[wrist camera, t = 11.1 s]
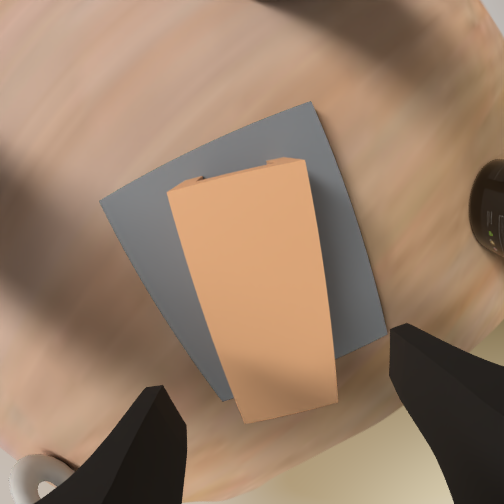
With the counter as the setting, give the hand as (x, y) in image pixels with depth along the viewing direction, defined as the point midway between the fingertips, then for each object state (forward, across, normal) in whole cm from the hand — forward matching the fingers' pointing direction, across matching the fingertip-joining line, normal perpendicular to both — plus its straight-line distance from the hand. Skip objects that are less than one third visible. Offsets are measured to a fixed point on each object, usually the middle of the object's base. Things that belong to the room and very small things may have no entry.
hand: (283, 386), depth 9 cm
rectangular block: (+8, 0, 0) cm, 8 cm away
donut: (+10, +27, +18) cm, 34 cm away
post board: (+9, 0, 0) cm, 9 cm away
